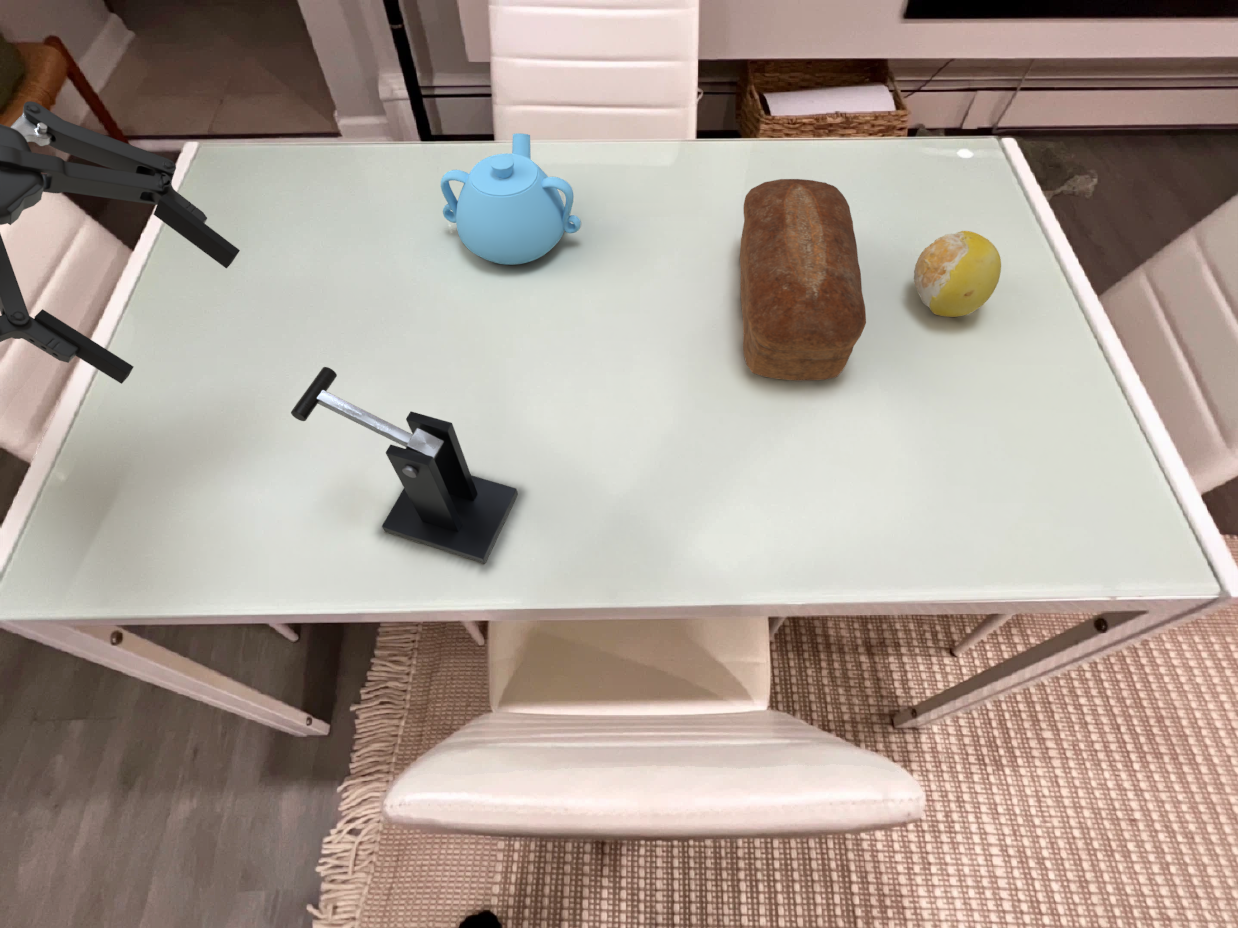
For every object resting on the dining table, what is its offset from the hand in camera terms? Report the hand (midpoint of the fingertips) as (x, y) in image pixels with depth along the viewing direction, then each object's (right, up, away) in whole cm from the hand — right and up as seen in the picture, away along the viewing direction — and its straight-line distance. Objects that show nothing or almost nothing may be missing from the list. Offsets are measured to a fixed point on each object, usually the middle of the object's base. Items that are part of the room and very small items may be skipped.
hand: (184, 314), depth 58 cm
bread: (+58, +8, +37) cm, 69 cm away
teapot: (+21, +22, +46) cm, 55 cm away
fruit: (+79, +9, +37) cm, 87 cm away
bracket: (+17, -18, +21) cm, 32 cm away
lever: (+12, -9, +10) cm, 18 cm away
